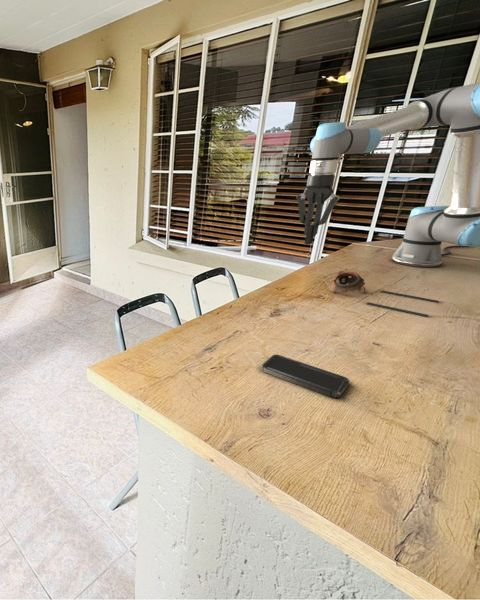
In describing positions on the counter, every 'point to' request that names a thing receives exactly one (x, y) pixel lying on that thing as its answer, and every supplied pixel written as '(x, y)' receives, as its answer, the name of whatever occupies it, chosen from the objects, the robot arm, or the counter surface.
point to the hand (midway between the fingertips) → (308, 243)
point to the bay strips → (401, 309)
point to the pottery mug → (348, 282)
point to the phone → (306, 375)
